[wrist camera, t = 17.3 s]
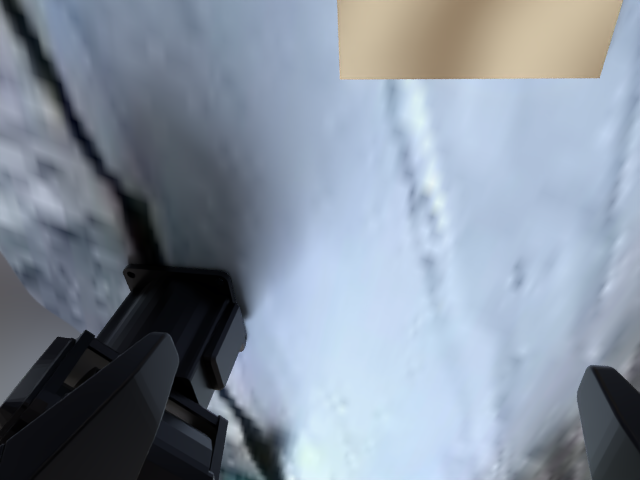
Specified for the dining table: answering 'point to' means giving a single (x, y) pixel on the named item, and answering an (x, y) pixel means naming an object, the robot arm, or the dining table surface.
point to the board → (474, 38)
